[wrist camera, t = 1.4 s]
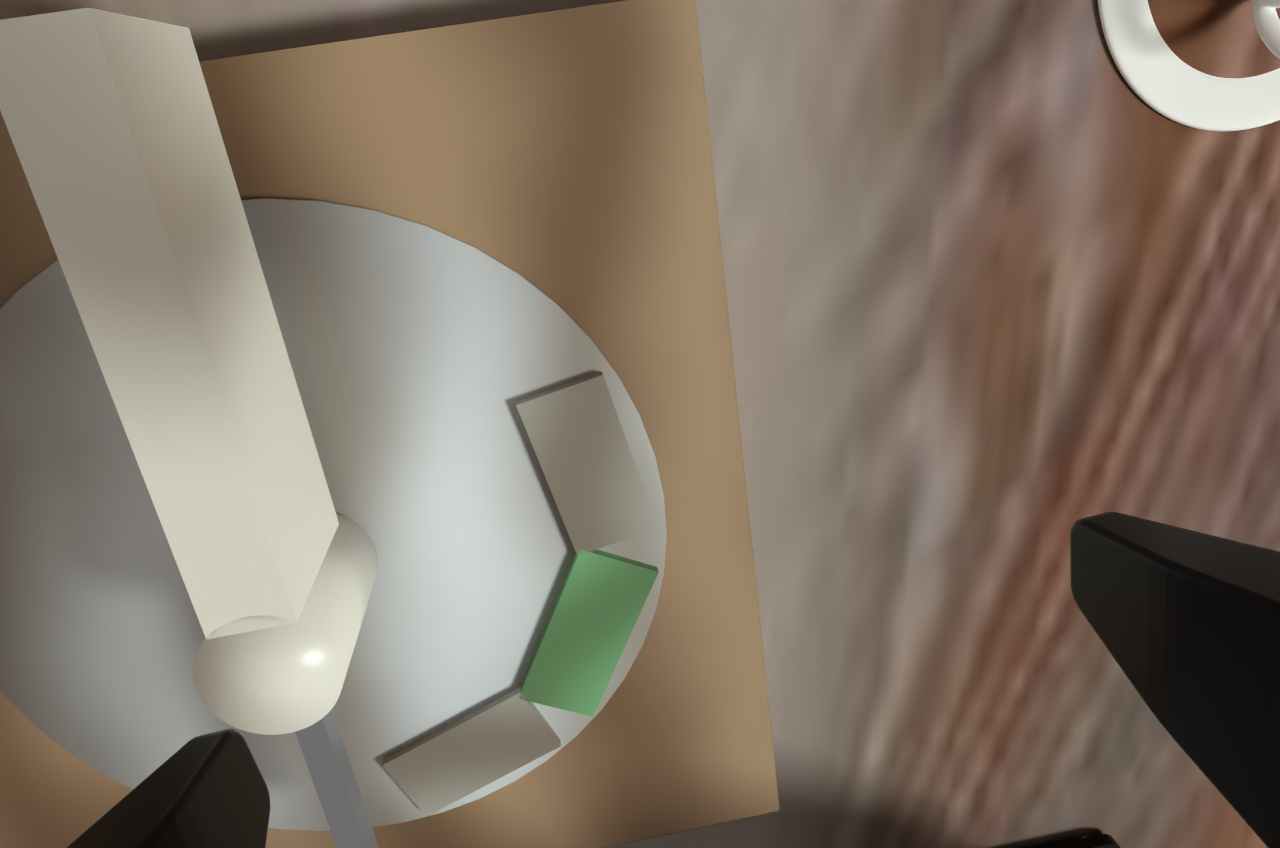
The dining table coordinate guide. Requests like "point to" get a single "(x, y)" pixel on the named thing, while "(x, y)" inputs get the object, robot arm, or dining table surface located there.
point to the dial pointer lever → (196, 370)
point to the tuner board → (429, 451)
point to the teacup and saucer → (1191, 71)
